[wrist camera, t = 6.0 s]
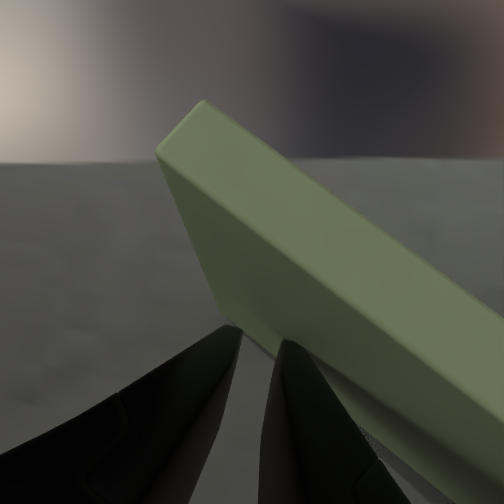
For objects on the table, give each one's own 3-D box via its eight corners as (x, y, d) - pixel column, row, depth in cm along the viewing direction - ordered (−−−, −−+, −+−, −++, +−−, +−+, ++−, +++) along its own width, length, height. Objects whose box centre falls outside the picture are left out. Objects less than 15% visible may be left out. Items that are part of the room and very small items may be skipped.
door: (481, 494, 16) (1456, 1011, 3) (468, 515, 16) (1445, 1148, 3) (232, 294, 17) (203, 92, 5) (218, 311, 17) (149, 149, 4)
